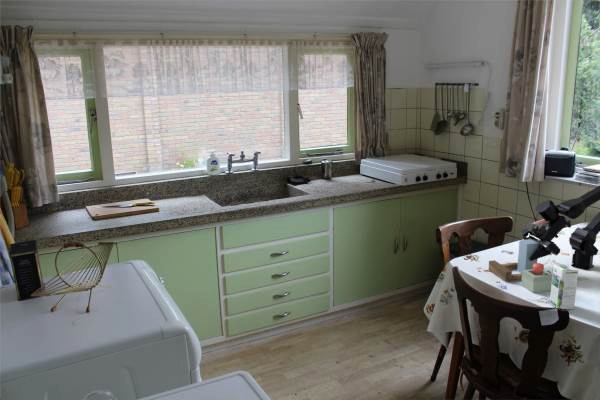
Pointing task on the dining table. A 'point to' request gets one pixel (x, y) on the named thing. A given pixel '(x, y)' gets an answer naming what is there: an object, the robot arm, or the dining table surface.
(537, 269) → the gauge button
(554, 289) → the syrup box
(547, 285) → the pale green box
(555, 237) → the robot arm
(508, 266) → the rails
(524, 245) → the pale blue upright block
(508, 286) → the dining table surface
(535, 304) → the dining table surface
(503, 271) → the bar
